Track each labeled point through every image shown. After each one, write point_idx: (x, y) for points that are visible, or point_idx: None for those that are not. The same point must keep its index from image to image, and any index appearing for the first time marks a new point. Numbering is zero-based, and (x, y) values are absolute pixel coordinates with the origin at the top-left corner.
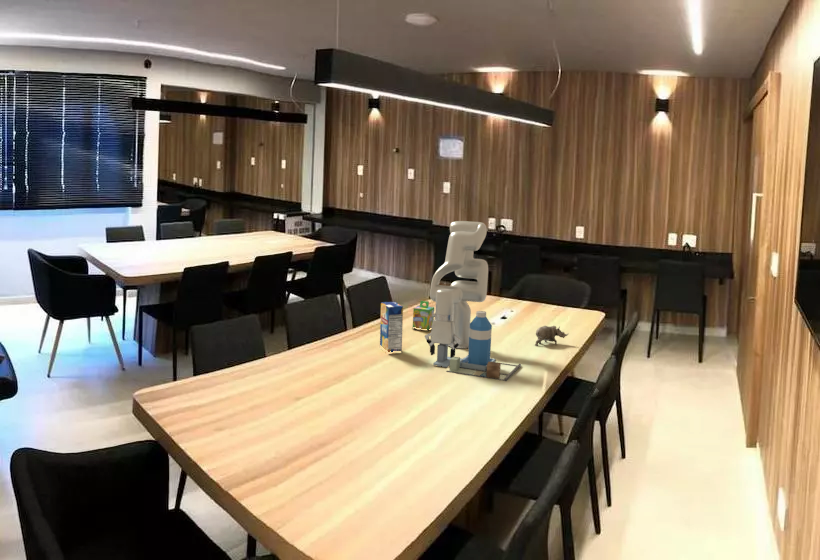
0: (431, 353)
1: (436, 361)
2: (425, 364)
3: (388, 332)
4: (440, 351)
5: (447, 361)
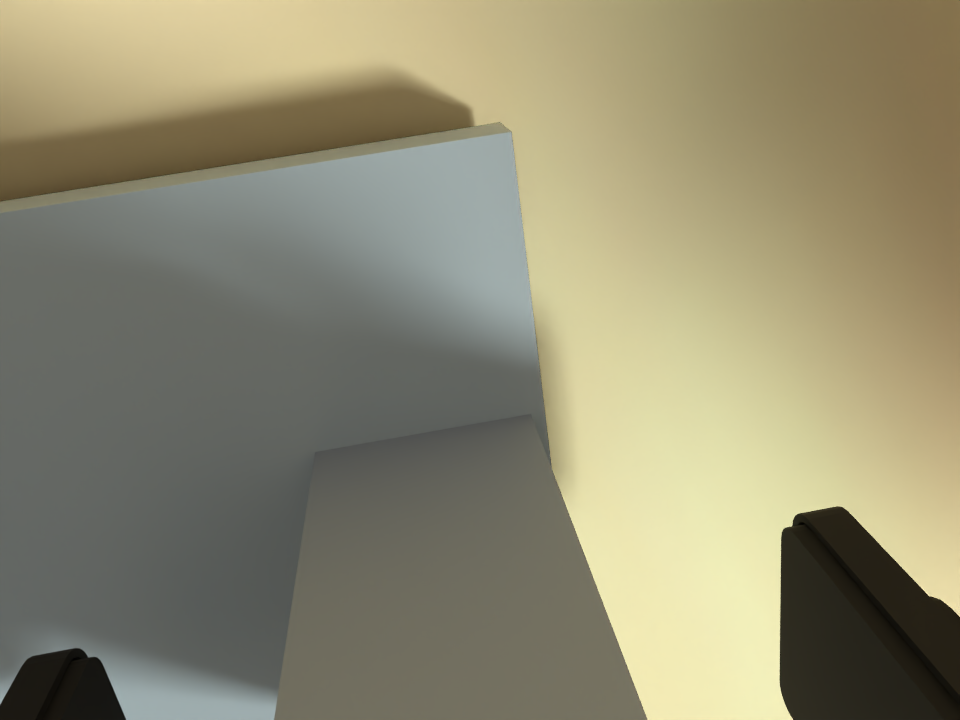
0: (841, 543)
1: (512, 352)
2: (771, 115)
3: None
4: (451, 668)
5: (240, 553)
